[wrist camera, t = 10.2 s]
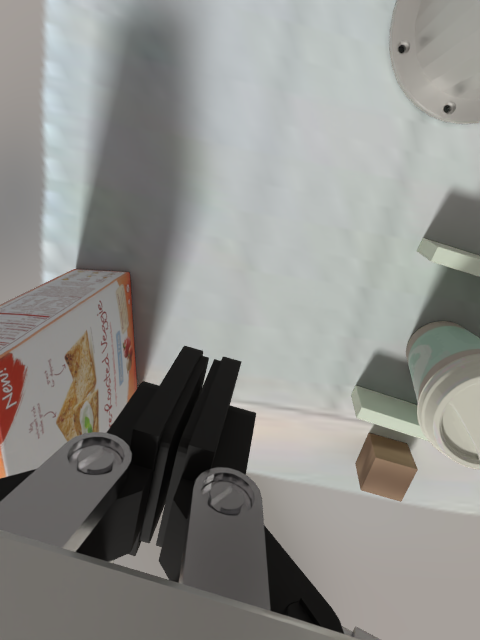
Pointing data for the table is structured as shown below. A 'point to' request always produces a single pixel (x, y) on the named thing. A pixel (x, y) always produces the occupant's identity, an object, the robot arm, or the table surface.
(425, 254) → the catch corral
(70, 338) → the cracker box
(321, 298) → the table surface
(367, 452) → the walnut block
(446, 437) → the coffee cup
